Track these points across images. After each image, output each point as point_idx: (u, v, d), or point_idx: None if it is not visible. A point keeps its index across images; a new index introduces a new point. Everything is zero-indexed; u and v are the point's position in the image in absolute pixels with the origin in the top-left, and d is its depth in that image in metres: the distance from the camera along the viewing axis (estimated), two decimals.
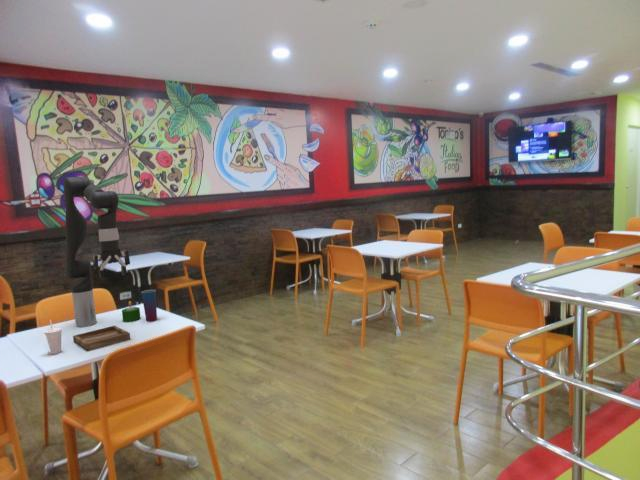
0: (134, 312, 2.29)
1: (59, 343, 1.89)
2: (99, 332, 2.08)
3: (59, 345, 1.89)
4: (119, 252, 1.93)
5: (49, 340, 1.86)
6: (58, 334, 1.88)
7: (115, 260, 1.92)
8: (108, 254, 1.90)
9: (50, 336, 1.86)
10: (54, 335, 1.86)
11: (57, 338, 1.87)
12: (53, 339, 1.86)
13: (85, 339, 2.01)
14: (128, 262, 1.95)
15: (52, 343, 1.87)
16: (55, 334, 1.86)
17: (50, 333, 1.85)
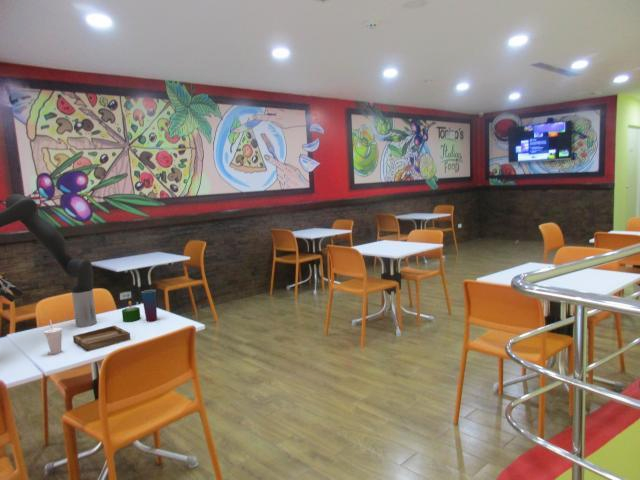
0: (134, 312, 2.29)
1: (59, 343, 1.89)
2: (99, 332, 2.08)
3: (59, 345, 1.89)
4: None
5: (49, 340, 1.86)
6: (58, 334, 1.88)
7: None
8: None
9: (50, 336, 1.86)
10: (54, 335, 1.86)
11: (57, 338, 1.87)
12: (53, 339, 1.86)
13: (85, 339, 2.01)
14: None
15: (52, 343, 1.87)
16: (55, 334, 1.86)
17: (50, 333, 1.85)
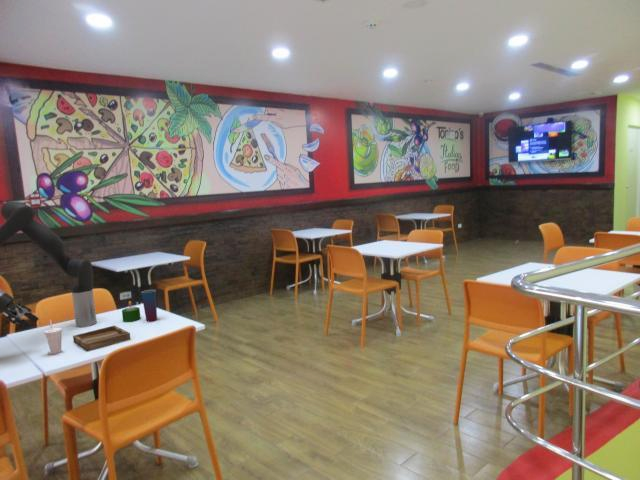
0: (134, 312, 2.29)
1: (59, 343, 1.89)
2: (99, 332, 2.08)
3: (59, 345, 1.89)
4: None
5: (49, 340, 1.86)
6: (58, 334, 1.88)
7: None
8: None
9: (50, 336, 1.86)
10: (54, 335, 1.86)
11: (57, 338, 1.87)
12: (53, 339, 1.86)
13: (85, 339, 2.01)
14: None
15: (52, 343, 1.87)
16: (55, 334, 1.86)
17: (50, 333, 1.85)
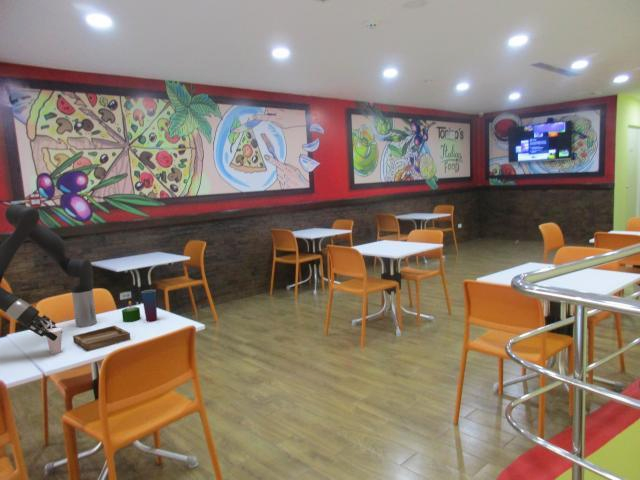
0: (134, 312, 2.29)
1: (59, 343, 1.89)
2: (99, 332, 2.08)
3: (59, 345, 1.89)
4: None
5: (49, 340, 1.86)
6: (58, 334, 1.88)
7: None
8: None
9: None
10: None
11: (57, 338, 1.87)
12: None
13: (85, 339, 2.01)
14: None
15: (52, 343, 1.87)
16: (55, 334, 1.86)
17: None
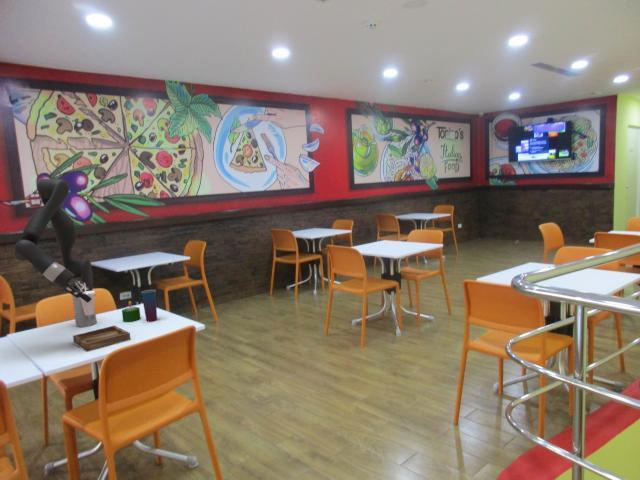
0: (134, 312, 2.29)
1: (93, 305, 1.97)
2: (99, 332, 2.08)
3: (93, 307, 1.97)
4: None
5: (83, 302, 1.94)
6: (92, 296, 1.96)
7: None
8: None
9: None
10: None
11: (91, 300, 1.95)
12: None
13: (85, 339, 2.01)
14: None
15: (86, 305, 1.95)
16: (89, 296, 1.94)
17: None
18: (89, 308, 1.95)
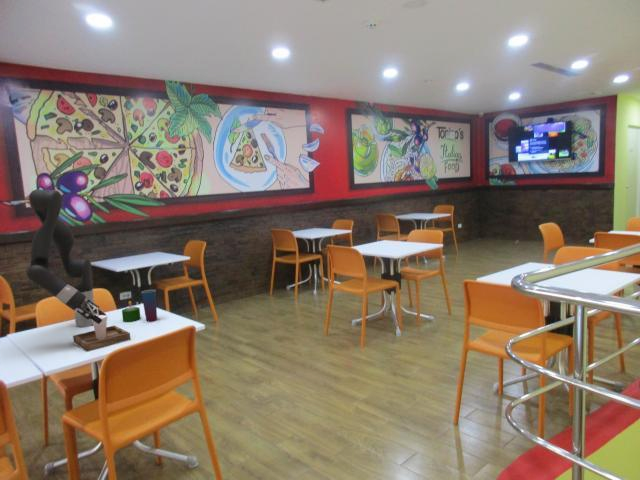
0: (134, 312, 2.29)
1: (104, 329, 2.00)
2: None
3: (104, 331, 2.00)
4: None
5: (96, 326, 1.98)
6: (104, 321, 1.99)
7: None
8: None
9: (97, 323, 1.97)
10: None
11: (103, 324, 1.99)
12: (99, 325, 1.98)
13: (85, 339, 2.01)
14: None
15: (98, 329, 1.98)
16: (101, 321, 1.98)
17: None
18: (101, 332, 1.99)
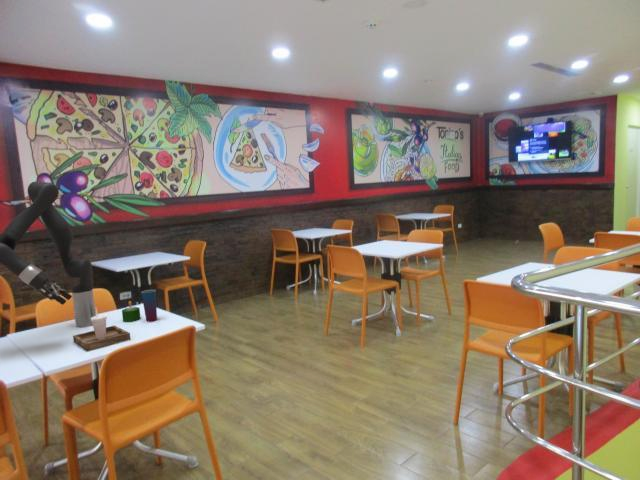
0: (134, 312, 2.29)
1: (104, 329, 2.00)
2: None
3: (104, 331, 2.00)
4: None
5: (95, 326, 1.98)
6: (103, 321, 1.99)
7: None
8: None
9: (96, 323, 1.97)
10: (100, 322, 1.98)
11: (102, 324, 1.99)
12: (99, 325, 1.98)
13: (85, 339, 2.01)
14: None
15: (98, 329, 1.98)
16: (101, 321, 1.98)
17: (96, 320, 1.97)
18: (101, 332, 1.99)
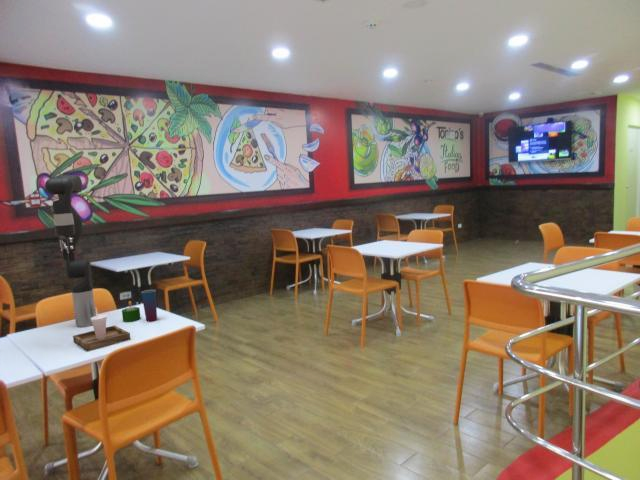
0: (134, 312, 2.29)
1: (104, 329, 2.00)
2: None
3: (104, 331, 2.00)
4: (65, 238, 1.97)
5: (95, 326, 1.98)
6: (103, 321, 1.99)
7: None
8: (62, 238, 2.00)
9: (96, 323, 1.97)
10: (100, 322, 1.98)
11: (102, 324, 1.99)
12: (99, 325, 1.98)
13: (85, 339, 2.01)
14: (68, 249, 1.95)
15: (98, 329, 1.98)
16: (101, 321, 1.98)
17: (96, 320, 1.97)
18: (101, 332, 1.99)
